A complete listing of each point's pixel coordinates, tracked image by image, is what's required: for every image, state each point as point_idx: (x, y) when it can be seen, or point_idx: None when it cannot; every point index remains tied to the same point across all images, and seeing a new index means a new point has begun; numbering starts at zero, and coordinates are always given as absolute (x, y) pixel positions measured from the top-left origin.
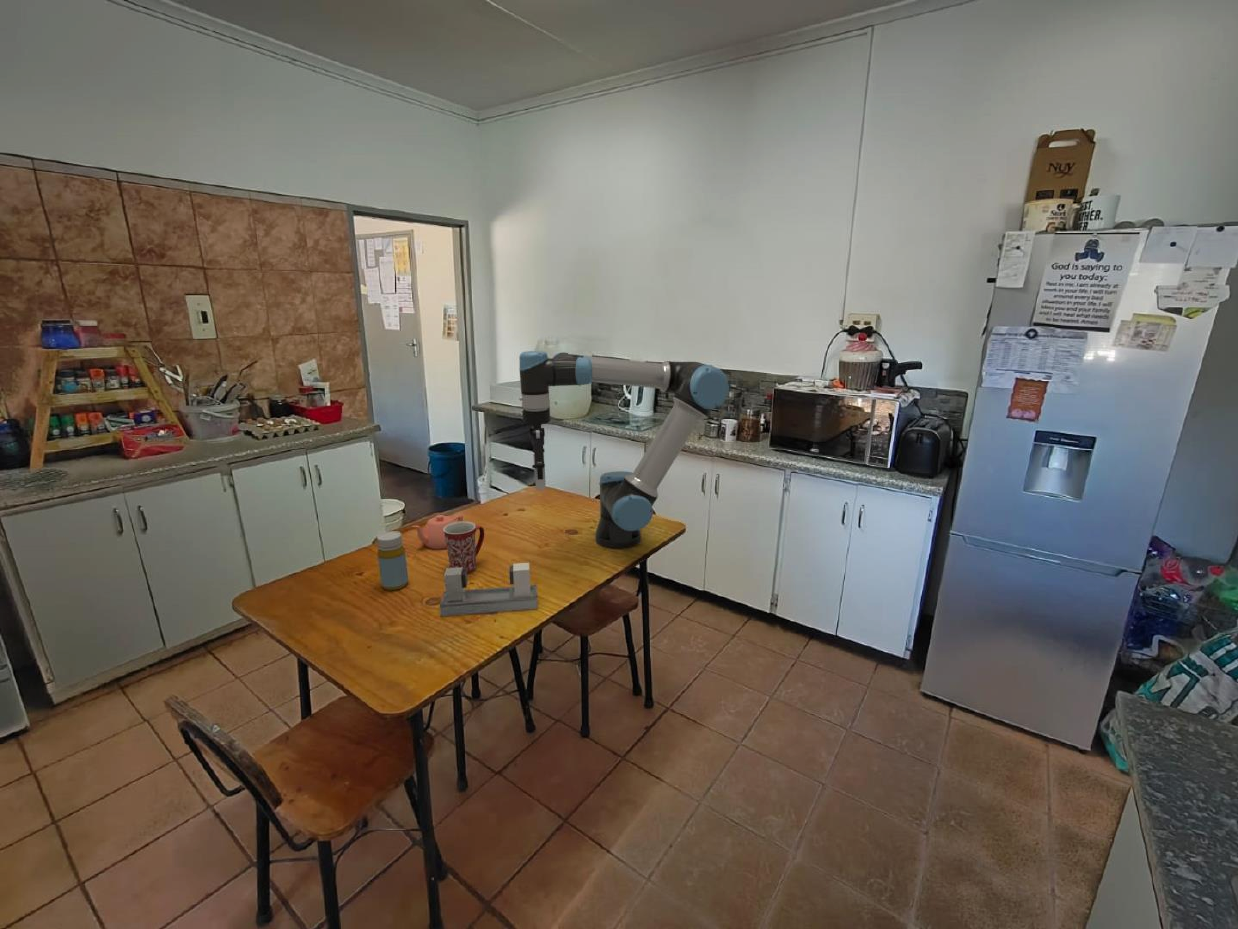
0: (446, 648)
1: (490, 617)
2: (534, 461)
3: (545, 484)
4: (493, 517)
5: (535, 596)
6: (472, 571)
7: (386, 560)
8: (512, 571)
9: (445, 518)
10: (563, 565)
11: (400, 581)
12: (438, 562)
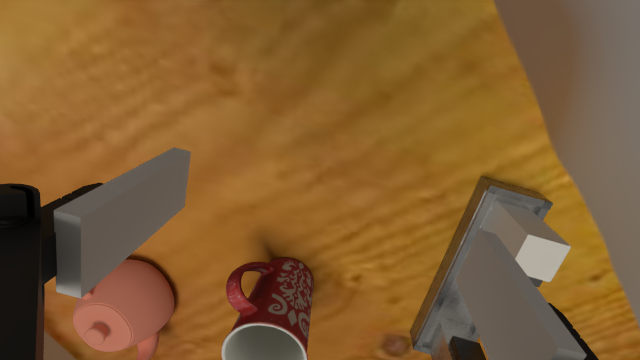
0: None
1: None
2: (128, 253)
3: (508, 252)
4: (4, 157)
5: (544, 203)
6: (307, 268)
7: None
8: (541, 280)
9: (92, 317)
10: (365, 67)
11: None
12: (236, 313)
